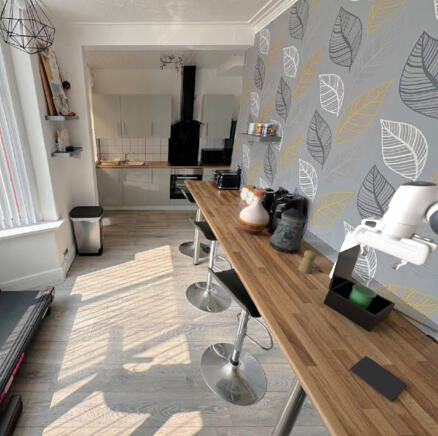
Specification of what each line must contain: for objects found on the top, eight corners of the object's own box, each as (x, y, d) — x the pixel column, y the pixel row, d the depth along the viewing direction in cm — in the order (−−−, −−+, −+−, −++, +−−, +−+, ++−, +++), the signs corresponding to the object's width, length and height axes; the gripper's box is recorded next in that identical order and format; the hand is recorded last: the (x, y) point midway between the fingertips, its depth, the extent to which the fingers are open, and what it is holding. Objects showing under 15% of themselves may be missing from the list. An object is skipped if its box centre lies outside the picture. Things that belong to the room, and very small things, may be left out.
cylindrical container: (333, 283, 111) (354, 237, 101) (326, 274, 118) (344, 230, 108) (350, 285, 110) (373, 239, 100) (341, 276, 117) (362, 231, 107)
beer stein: (271, 251, 137) (282, 211, 127) (266, 236, 154) (275, 200, 144) (302, 256, 133) (317, 215, 122) (294, 240, 150) (306, 204, 140)
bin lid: (361, 244, 96) (359, 243, 97) (341, 253, 89) (339, 252, 90) (350, 279, 101) (348, 278, 102) (330, 289, 95) (328, 288, 95)
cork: (299, 265, 125) (306, 247, 120) (312, 270, 121) (320, 252, 116) (296, 269, 121) (302, 251, 116) (309, 275, 117) (317, 256, 112)
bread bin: (386, 318, 92) (395, 303, 89) (367, 333, 86) (376, 317, 83) (342, 293, 105) (348, 279, 102) (322, 304, 98) (328, 289, 95)
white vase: (237, 223, 171) (245, 183, 159) (263, 228, 165) (274, 187, 153) (236, 235, 154) (245, 191, 142) (265, 240, 148) (278, 195, 136)
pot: (369, 313, 94) (379, 293, 90) (360, 319, 91) (371, 299, 87) (348, 301, 99) (358, 282, 95) (340, 306, 96) (349, 287, 92)
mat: (406, 385, 69) (406, 384, 69) (391, 402, 65) (391, 401, 65) (365, 356, 77) (365, 355, 77) (349, 369, 73) (350, 368, 73)
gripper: (444, 239, 73) (421, 275, 79) (365, 215, 90) (351, 246, 95) (437, 243, 70) (414, 280, 76) (357, 218, 87) (343, 250, 93)
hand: (378, 261), depth 86 cm, fingers open, 8 cm apart
